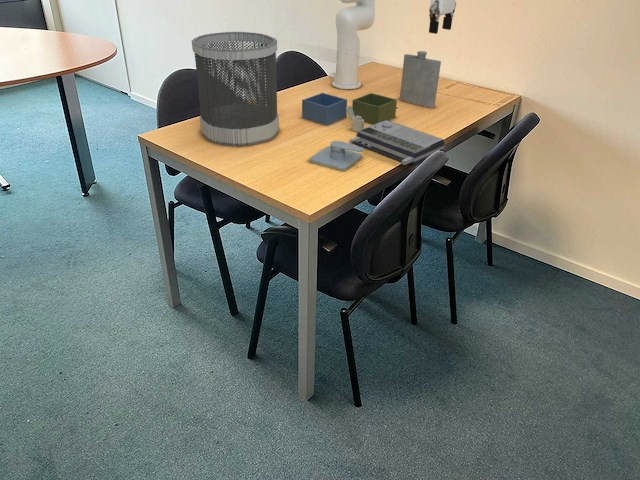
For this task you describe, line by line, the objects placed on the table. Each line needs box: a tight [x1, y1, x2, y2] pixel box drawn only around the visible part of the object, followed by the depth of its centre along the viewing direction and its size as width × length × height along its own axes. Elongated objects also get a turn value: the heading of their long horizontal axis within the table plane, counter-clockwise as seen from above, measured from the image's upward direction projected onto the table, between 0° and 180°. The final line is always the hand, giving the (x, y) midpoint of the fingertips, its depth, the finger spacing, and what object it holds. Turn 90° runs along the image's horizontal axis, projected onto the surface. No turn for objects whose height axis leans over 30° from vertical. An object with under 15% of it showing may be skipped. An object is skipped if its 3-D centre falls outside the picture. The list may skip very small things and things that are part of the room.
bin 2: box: [351, 92, 398, 125], centre depth 194 cm, size 12×12×7 cm
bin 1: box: [301, 92, 348, 127], centre depth 192 cm, size 12×12×7 cm
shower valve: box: [309, 140, 365, 171], centre depth 161 cm, size 12×6×15 cm
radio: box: [348, 120, 446, 167], centre depth 169 cm, size 24×5×20 cm
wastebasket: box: [191, 31, 280, 147], centre depth 173 cm, size 25×25×30 cm
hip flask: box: [399, 50, 442, 109], centre depth 206 cm, size 16×4×20 cm, turn 49°
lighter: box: [346, 105, 365, 133], centre depth 182 cm, size 7×2×8 cm, turn 51°
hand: (439, 31), depth 187 cm, fingers open, 9 cm apart
